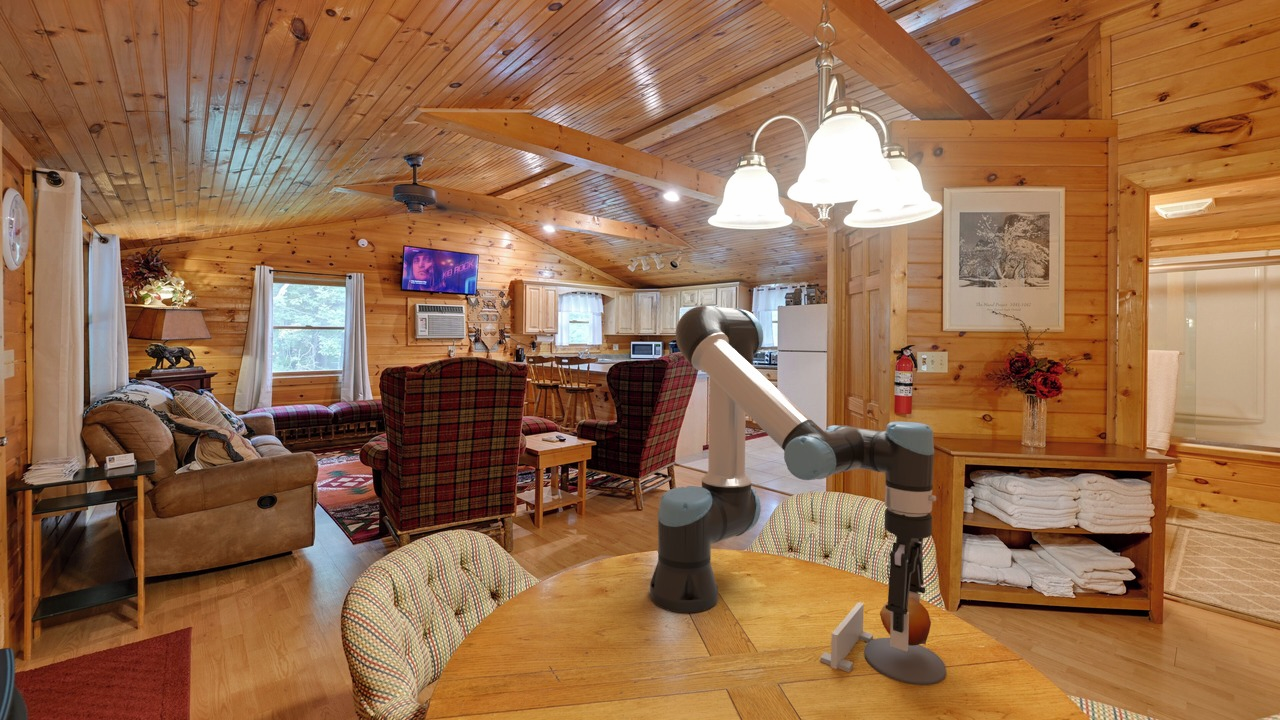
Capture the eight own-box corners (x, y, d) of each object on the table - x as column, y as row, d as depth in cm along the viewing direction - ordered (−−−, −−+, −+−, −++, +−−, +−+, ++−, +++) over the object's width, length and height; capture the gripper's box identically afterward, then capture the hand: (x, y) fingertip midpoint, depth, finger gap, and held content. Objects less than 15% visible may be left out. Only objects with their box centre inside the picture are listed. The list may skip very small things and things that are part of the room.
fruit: (949, 646, 91) (923, 603, 91) (905, 665, 92) (880, 622, 93) (933, 622, 99) (909, 583, 99) (893, 639, 100) (870, 601, 101)
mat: (854, 664, 95) (854, 660, 95) (875, 634, 105) (875, 630, 105) (937, 695, 87) (937, 690, 87) (951, 659, 97) (951, 655, 97)
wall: (819, 662, 96) (820, 629, 95) (847, 628, 107) (848, 598, 107) (848, 673, 92) (849, 639, 92) (873, 637, 104) (874, 606, 104)
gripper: (918, 530, 85) (914, 672, 85) (943, 501, 101) (940, 621, 102) (868, 520, 89) (865, 655, 90) (900, 494, 106) (897, 608, 106)
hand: (905, 637), depth 96 cm, fingers closed on fruit, 8 cm apart
